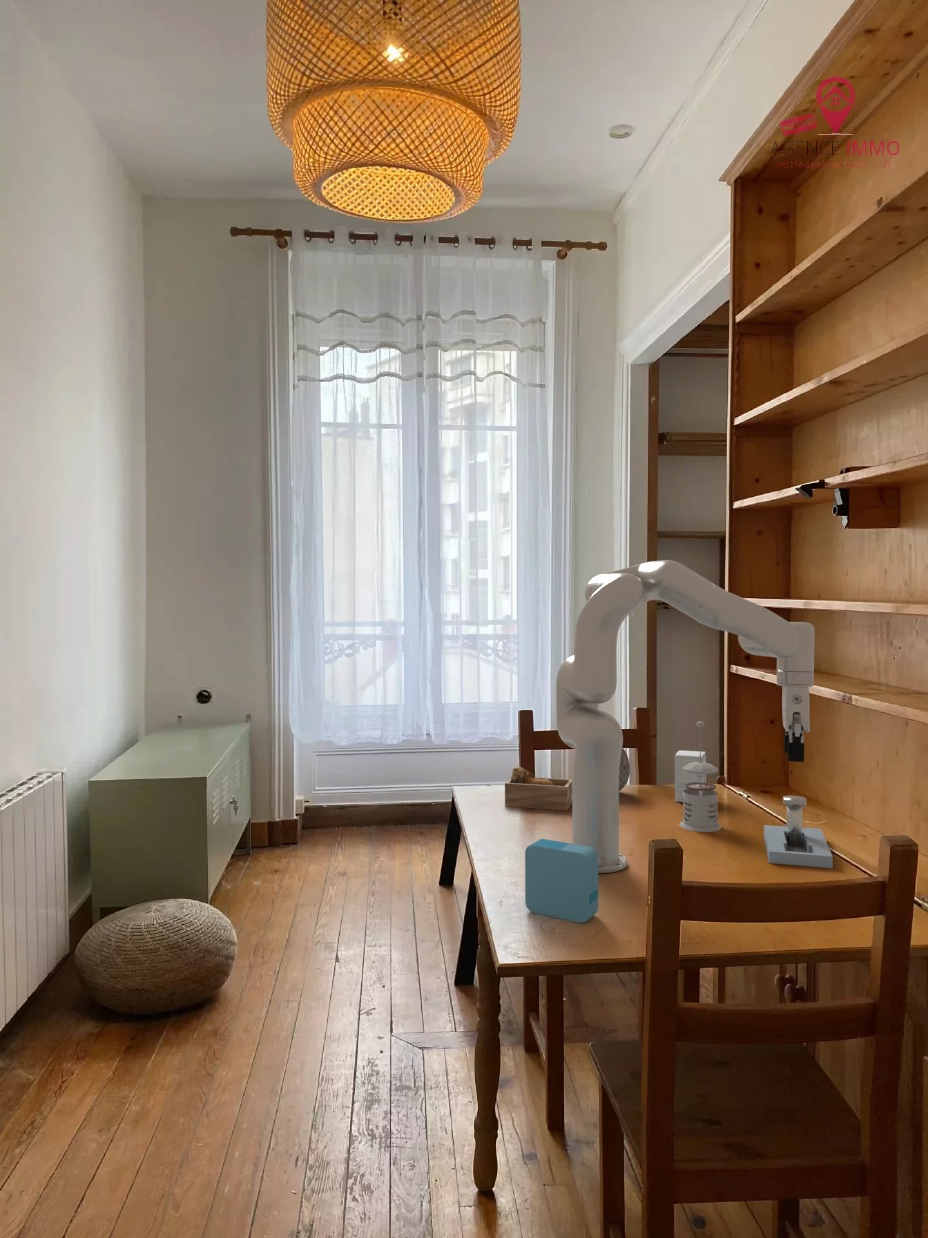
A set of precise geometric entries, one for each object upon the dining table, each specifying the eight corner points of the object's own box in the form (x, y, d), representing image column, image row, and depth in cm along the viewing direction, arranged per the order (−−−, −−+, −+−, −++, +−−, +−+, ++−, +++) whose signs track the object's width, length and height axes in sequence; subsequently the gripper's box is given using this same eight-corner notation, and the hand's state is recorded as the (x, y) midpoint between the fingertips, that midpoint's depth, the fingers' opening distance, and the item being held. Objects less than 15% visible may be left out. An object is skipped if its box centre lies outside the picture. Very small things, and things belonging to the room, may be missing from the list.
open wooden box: (567, 810, 212) (567, 787, 212) (504, 806, 217) (504, 783, 217) (573, 802, 221) (573, 779, 220) (513, 798, 225) (513, 776, 225)
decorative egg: (587, 788, 236) (586, 735, 235) (629, 789, 234) (629, 736, 234) (586, 798, 224) (586, 743, 224) (630, 799, 222) (630, 744, 222)
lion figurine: (507, 801, 220) (507, 768, 220) (515, 797, 225) (516, 764, 224) (559, 809, 213) (560, 774, 213) (566, 804, 218) (567, 770, 217)
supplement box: (706, 798, 224) (707, 751, 223) (702, 804, 217) (702, 756, 216) (679, 795, 227) (679, 749, 226) (674, 801, 220) (674, 754, 220)
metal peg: (807, 848, 179) (807, 801, 178) (783, 846, 180) (783, 800, 180) (804, 842, 183) (805, 796, 183) (781, 840, 185) (781, 795, 184)
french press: (678, 830, 194) (678, 723, 193) (680, 817, 205) (680, 716, 204) (722, 833, 191) (722, 725, 190) (721, 820, 202) (722, 717, 201)
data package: (598, 916, 143) (598, 847, 143) (588, 925, 139) (588, 854, 139) (536, 903, 149) (536, 837, 149) (524, 911, 145) (524, 843, 145)
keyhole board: (832, 868, 166) (832, 856, 166) (768, 863, 170) (769, 851, 170) (820, 839, 186) (820, 829, 186) (763, 835, 189) (763, 825, 189)
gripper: (818, 683, 171) (816, 766, 172) (809, 675, 188) (808, 751, 188) (779, 682, 173) (778, 763, 174) (774, 674, 190) (773, 749, 190)
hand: (793, 757), depth 181 cm, fingers open, 9 cm apart
